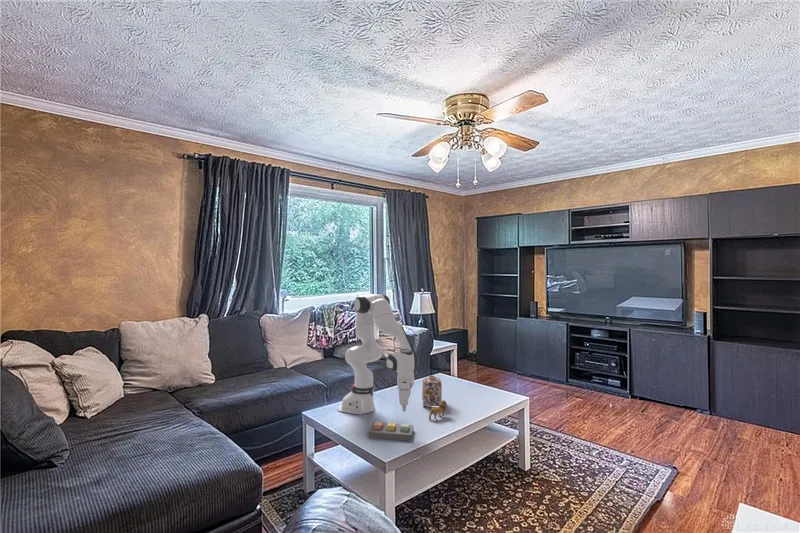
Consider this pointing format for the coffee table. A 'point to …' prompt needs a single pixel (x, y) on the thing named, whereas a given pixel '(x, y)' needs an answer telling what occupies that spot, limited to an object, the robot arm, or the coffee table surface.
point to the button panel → (391, 433)
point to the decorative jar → (432, 391)
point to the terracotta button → (378, 425)
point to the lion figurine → (438, 409)
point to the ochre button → (391, 426)
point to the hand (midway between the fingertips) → (405, 407)
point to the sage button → (404, 427)
